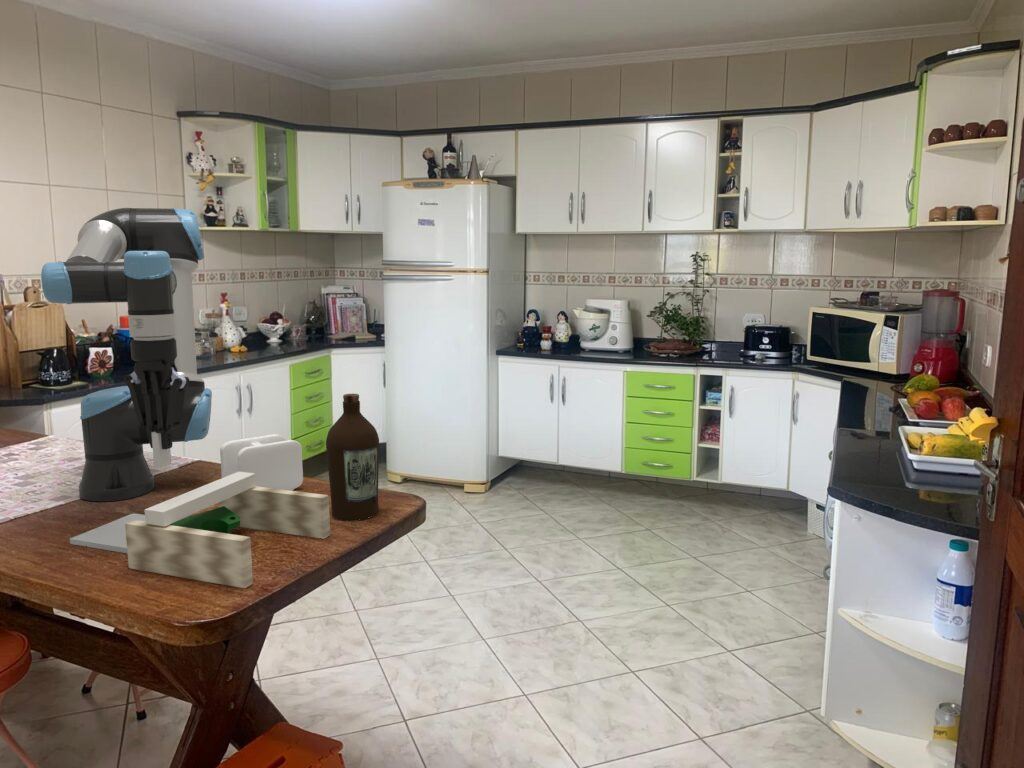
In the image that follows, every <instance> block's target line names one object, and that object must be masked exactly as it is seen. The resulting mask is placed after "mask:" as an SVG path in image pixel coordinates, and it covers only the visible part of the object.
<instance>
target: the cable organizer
mask: <svg viewBox="0 0 1024 768" xmlns="http://www.w3.org/2000/svg"><path fill="white" fill-rule="evenodd" d="M219 448H220V449H219V455H220V471H221V472H220V473H221V478H224V477H226V476H229V475H231V474H234V473H236V472H247V473H255V474H256V486H257V487H265V488H273V489H281V490H290V491H295V489H297V488H298V487H300V486H301V485H302V483H303V482H304V471H303V451H302V448H303V447H302V444H301V443H300V442H298V441H296V440H294V439H288V440H287V439H286V438H285V437H284V436H282V435H280V434H277V433H273V434H265V435H260V436H254V437H247V438H246V437H245V438H241V439H234V440H229V441H225V442H224V443H223V444H222V445H221V446H220V447H219Z"/></svg>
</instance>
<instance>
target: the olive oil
mask: <svg viewBox="0 0 1024 768" xmlns="http://www.w3.org/2000/svg"><path fill="white" fill-rule="evenodd" d="M342 399H343V401H342V409H343V411H342V414H341V416H339V418H338V419H337V420H336V421H335V422H334V423H333V425H332V426H331V427H330V429H329V430H328V433H327V435H326V441H325V448H326V449H325V450H326V457H327V471H328V478H329V480H328V481H329V488H330V489H329V491H330V506H331V515H332V517H333V518H334V519H336V518H337V520H339V519H340V520H339V521H345V520H357V521H360V520H359V519H364V520H366V519H365V518H368V517H371V516H373V515H375V514H376V513H377V512H378V513H379V469H380V468H379V465H380V464H379V461H380V439H379V437H380V436H379V434H378V431H377V429H376V428H375V426H374V425H373V424H372V423H371V422H370V421H369V420H368V419H367V418H366V417H365V416H364V415H363V414H362V413H361V401H360V395H359V394H358V393H346V394H343V395H342ZM378 513H377V514H378ZM377 514H376V515H377ZM376 515H375V516H376ZM373 517H374V516H373ZM371 518H372V517H371ZM368 519H369V518H368Z"/></svg>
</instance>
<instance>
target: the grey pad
mask: <svg viewBox="0 0 1024 768" xmlns="http://www.w3.org/2000/svg"><path fill="white" fill-rule="evenodd" d="M133 520H139V521H145V514H140V513H134V512H133V513H130V514H128V515H125V516H123V517H120V518H118V519H115V520H113V521H110V522H108V523H105V524H103V525H100V526H99V527H98V526H97V527H96V528H93V529H91V530H87V531H86V532H83V533H80V534H77V535H75V536H73V537H70V538H69V544H70V545H76V546H80V547H86V546H87V547H86V548H92V549H97V550H98V549H99V550H104V551H105V550H106V551H110V552H116V553H122V554H128V553H127V541H126V530H125V523H128V522H130V521H133ZM169 525H170V524H169Z"/></svg>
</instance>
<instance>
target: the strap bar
mask: <svg viewBox="0 0 1024 768" xmlns="http://www.w3.org/2000/svg"><path fill="white" fill-rule="evenodd" d="M255 486H256V474H255V473H247V472H236V473H234V474H231V475H229V476H226V477H224V478H222V477H221V478H219V479H217V480H214V481H212V482H209V483H206V484H204V485H202V486H199V487H197V488H195V489H192V490H190V491H187V492H185V493H182V494H179V495H177V496H174V497H173V498H169V499H167V500H165V501H162V502H160V503H157V504H154V505H152V506H150V507H148V508H145V509H144V515H145V522H146V524H151V525H157V526H164V527H165V526H167V525H169V524H171V523H174V522H176V521H178V520H181V519H184V518H187V517H190V516H193V515H195V514H196V513H198V512H201V511H203V510H205V509H207V508H210V507H212V506H214V505H216V504H219V502H221V501H223V500H226V499H228V498H230V497H232V496H235V495H237V494H239V493H241V492H244V491H246V490H248V489H250V488H253V487H255Z"/></svg>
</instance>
